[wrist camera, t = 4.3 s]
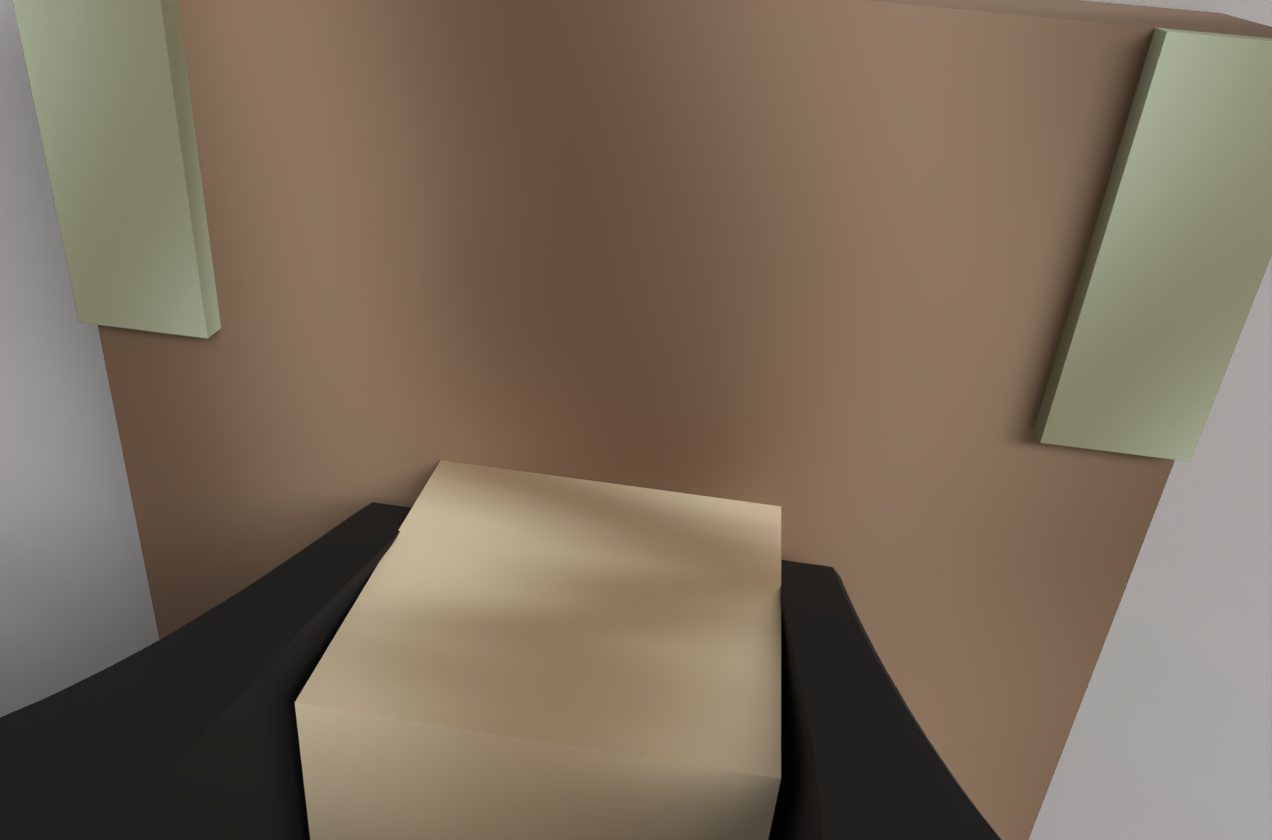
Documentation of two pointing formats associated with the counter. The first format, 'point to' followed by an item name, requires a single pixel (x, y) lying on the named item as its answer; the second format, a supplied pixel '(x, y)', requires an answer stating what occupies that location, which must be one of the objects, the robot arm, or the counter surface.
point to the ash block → (554, 669)
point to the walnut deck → (681, 288)
